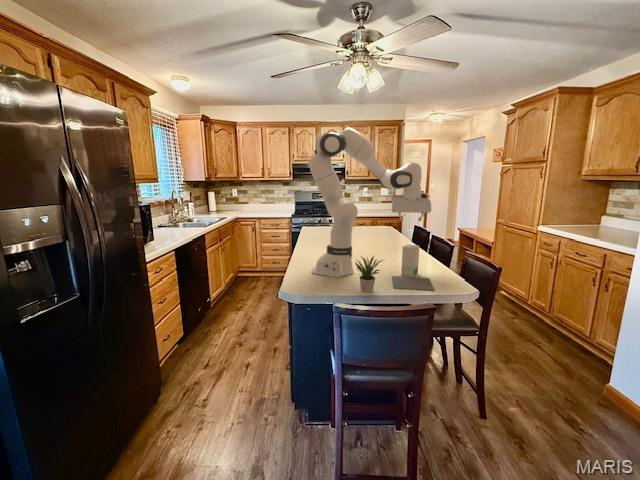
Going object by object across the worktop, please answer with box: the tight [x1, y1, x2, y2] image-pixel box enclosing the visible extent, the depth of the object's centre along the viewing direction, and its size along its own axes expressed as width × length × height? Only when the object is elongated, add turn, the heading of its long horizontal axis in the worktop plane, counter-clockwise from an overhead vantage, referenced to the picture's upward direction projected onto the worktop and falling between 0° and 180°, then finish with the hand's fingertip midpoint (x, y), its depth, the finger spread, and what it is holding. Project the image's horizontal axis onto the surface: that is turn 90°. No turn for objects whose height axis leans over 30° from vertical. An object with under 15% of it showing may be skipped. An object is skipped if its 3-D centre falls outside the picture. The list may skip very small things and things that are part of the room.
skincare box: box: [400, 244, 420, 277], centre depth 155 cm, size 8×7×16 cm
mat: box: [391, 275, 436, 292], centre depth 144 cm, size 18×16×1 cm
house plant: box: [354, 255, 384, 294], centre depth 135 cm, size 14×14×16 cm
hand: (410, 220), depth 161 cm, fingers open, 8 cm apart
